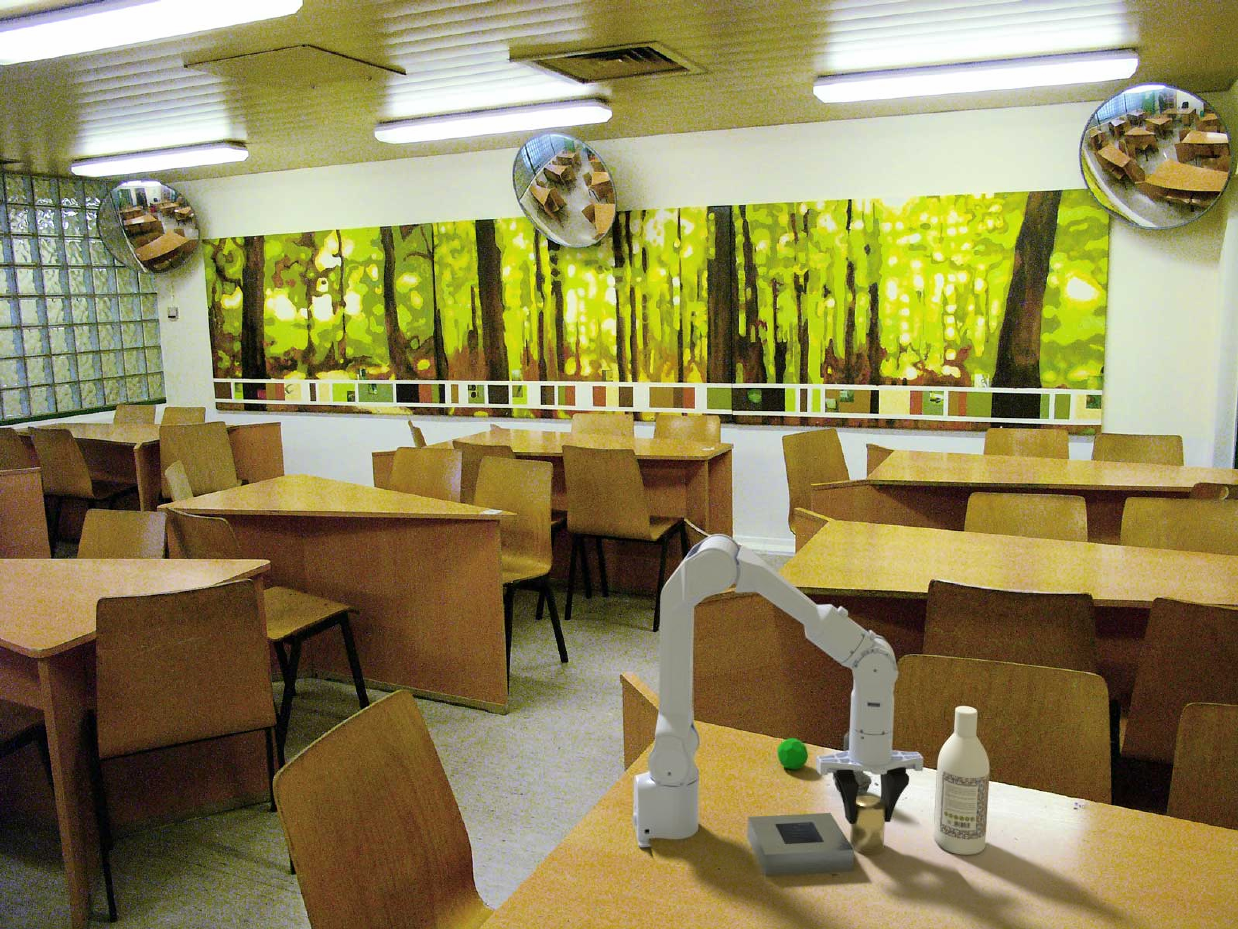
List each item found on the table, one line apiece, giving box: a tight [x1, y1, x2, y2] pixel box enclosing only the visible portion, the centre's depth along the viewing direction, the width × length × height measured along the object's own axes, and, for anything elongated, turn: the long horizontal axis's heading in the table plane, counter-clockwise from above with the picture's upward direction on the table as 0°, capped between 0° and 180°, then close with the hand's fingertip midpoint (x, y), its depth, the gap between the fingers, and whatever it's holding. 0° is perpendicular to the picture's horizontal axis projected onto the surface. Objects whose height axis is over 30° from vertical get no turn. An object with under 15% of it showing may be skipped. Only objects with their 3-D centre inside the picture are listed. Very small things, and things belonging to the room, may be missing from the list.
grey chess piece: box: [832, 730, 872, 796], centre depth 152 cm, size 6×6×12 cm
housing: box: [747, 812, 855, 877], centre depth 136 cm, size 12×10×4 cm
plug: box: [849, 795, 886, 856], centre depth 137 cm, size 5×5×6 cm
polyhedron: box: [776, 737, 809, 770], centre depth 164 cm, size 5×5×5 cm
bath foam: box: [933, 705, 991, 856], centre depth 139 cm, size 7×7×20 cm
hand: (867, 819), depth 137 cm, fingers closed on plug, 4 cm apart
